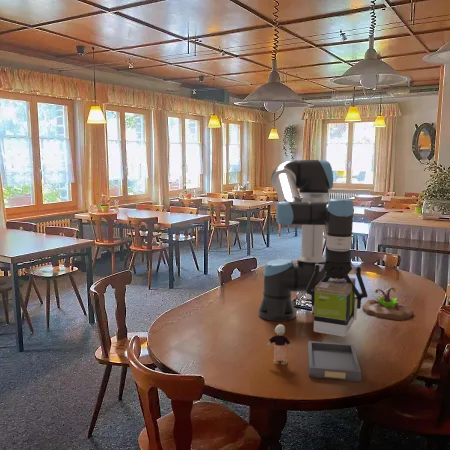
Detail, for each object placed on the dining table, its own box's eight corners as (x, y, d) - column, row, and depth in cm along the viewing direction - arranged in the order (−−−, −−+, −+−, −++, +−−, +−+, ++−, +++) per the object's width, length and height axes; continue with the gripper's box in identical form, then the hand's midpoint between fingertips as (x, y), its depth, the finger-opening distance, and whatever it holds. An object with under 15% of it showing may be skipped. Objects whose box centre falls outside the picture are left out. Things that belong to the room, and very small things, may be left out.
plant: (407, 323, 181) (409, 297, 179) (358, 314, 191) (359, 289, 189) (415, 309, 198) (417, 285, 196) (370, 302, 208) (371, 278, 206)
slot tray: (309, 377, 135) (309, 368, 134) (308, 349, 154) (308, 341, 154) (360, 382, 132) (361, 372, 132) (352, 352, 152) (353, 344, 152)
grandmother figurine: (290, 360, 146) (291, 322, 144) (291, 365, 142) (292, 327, 140) (266, 359, 146) (267, 322, 144) (267, 364, 142) (268, 326, 141)
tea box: (324, 316, 150) (326, 273, 148) (354, 321, 146) (357, 277, 144) (312, 331, 137) (314, 285, 135) (345, 338, 132) (348, 289, 130)
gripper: (299, 249, 136) (297, 318, 139) (380, 253, 132) (375, 323, 135) (299, 244, 143) (297, 310, 147) (376, 248, 140) (372, 315, 143)
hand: (334, 316), depth 141 cm, fingers closed on tea box, 11 cm apart
